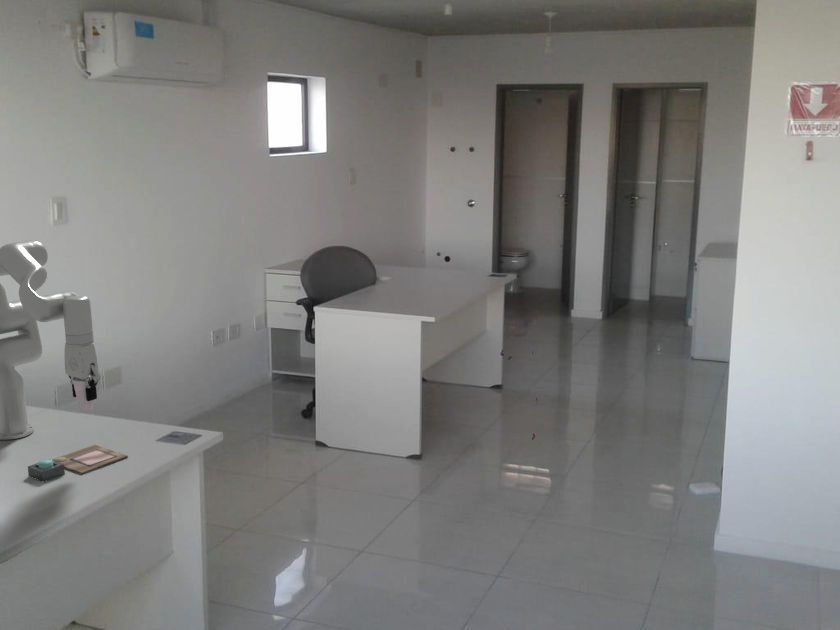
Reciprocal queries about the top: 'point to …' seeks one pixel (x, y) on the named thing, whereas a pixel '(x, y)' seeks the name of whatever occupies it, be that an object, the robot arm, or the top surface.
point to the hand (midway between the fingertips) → (85, 397)
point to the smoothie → (82, 395)
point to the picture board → (89, 459)
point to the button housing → (46, 471)
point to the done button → (45, 464)
